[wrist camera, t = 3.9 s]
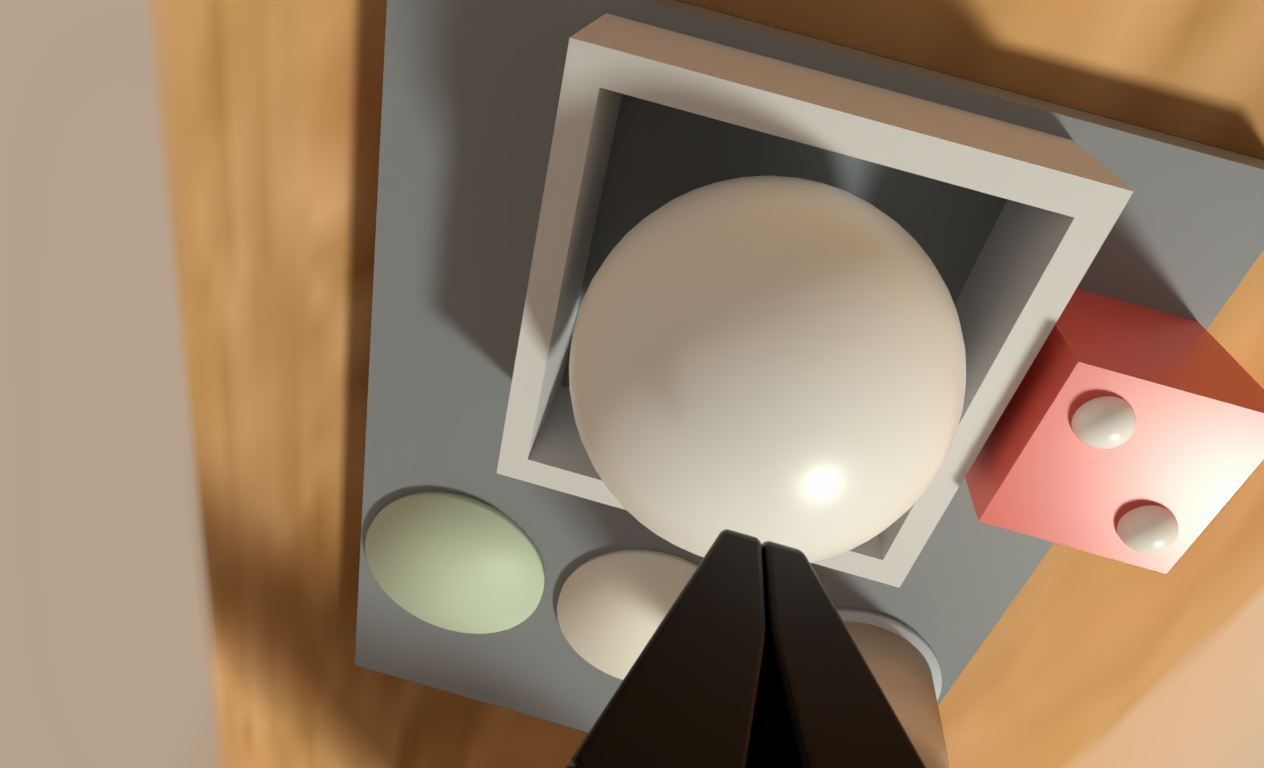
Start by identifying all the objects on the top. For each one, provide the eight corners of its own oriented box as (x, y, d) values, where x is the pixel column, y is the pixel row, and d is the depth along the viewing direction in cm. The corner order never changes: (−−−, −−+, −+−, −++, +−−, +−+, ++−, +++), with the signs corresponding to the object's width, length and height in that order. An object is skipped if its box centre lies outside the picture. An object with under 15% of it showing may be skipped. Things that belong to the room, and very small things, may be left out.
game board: (858, 778, 22) (869, 910, 20) (370, 636, 23) (309, 746, 20) (1277, 163, 13) (1423, 244, 10) (415, -71, 13) (308, -61, 10)
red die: (1101, 458, 15) (1177, 592, 12) (946, 415, 15) (984, 538, 12) (1197, 321, 13) (1311, 439, 10) (1023, 273, 13) (1087, 376, 10)
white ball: (858, 456, 16) (890, 701, 11) (582, 378, 16) (494, 587, 11) (991, 184, 12) (1115, 358, 8) (647, 89, 13) (565, 206, 8)
